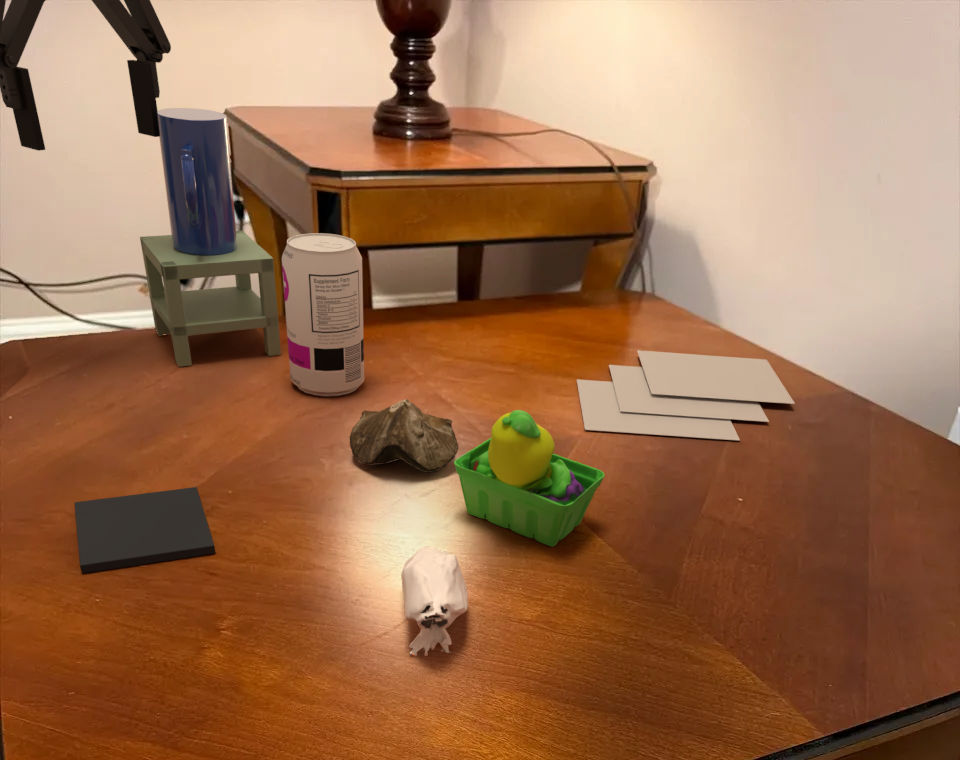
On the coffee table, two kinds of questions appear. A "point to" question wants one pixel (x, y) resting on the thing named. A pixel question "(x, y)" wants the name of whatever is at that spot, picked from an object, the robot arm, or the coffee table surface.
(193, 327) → the side table
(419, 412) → the fossilized seashell
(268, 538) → the coffee table surface
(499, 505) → the fruit basket
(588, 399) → the paper stack
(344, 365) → the supplement can
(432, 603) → the white crumpled pouch
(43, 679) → the coffee table surface
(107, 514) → the mat
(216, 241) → the jug
